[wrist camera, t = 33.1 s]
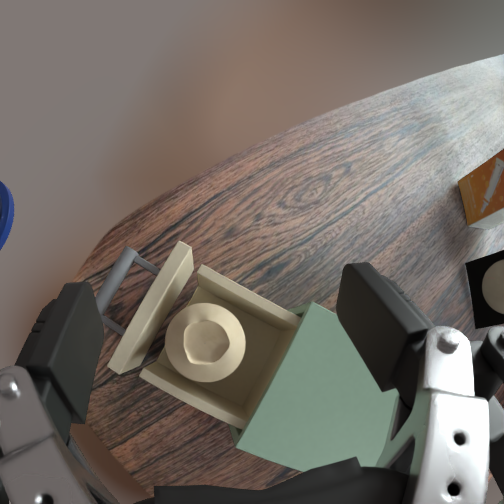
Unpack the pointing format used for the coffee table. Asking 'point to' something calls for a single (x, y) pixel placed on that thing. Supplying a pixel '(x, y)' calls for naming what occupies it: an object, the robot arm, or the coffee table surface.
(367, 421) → the green drawer housing
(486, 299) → the decorative object
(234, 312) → the drawer
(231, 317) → the candle
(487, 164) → the small box
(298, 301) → the coffee table surface
